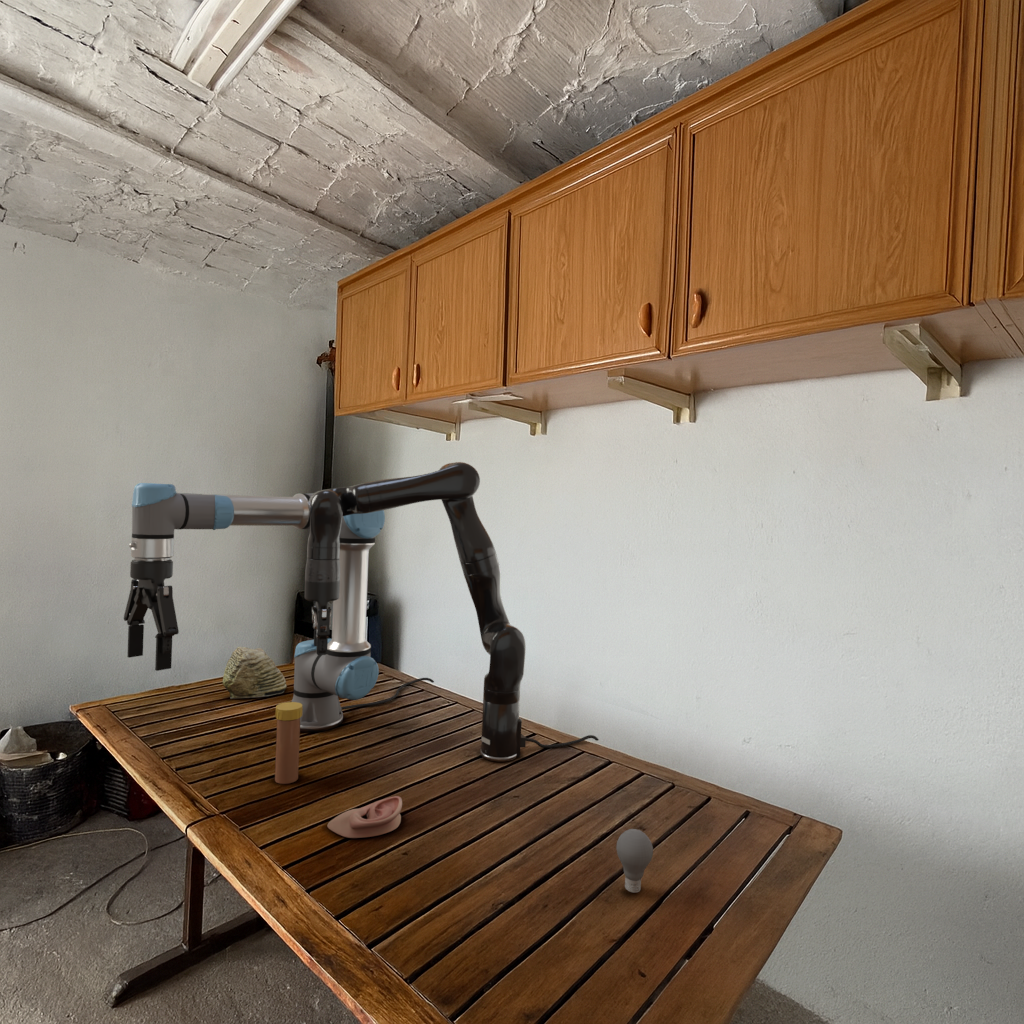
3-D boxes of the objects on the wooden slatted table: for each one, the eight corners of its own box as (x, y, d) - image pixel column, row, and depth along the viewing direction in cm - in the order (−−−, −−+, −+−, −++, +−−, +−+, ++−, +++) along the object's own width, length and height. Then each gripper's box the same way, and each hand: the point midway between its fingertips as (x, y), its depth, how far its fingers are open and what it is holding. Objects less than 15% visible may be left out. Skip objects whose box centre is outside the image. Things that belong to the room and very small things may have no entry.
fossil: (218, 695, 195) (220, 647, 195) (278, 685, 208) (279, 640, 207) (228, 703, 189) (230, 653, 188) (289, 692, 201) (290, 645, 201)
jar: (296, 783, 139) (299, 711, 139) (272, 784, 138) (275, 711, 138) (299, 773, 144) (302, 704, 144) (277, 774, 143) (279, 704, 143)
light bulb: (610, 879, 108) (613, 822, 108) (644, 879, 109) (647, 822, 109) (619, 902, 102) (622, 840, 102) (655, 901, 103) (658, 840, 103)
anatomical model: (320, 812, 119) (347, 786, 130) (319, 833, 119) (347, 805, 130) (386, 822, 116) (408, 795, 127) (385, 844, 116) (408, 814, 128)
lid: (300, 720, 139) (300, 710, 139) (272, 721, 138) (273, 710, 138) (304, 711, 144) (304, 701, 144) (277, 712, 143) (278, 702, 143)
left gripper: (108, 554, 134) (104, 654, 134) (159, 565, 118) (155, 678, 119) (146, 552, 140) (143, 648, 140) (199, 563, 124) (195, 671, 124)
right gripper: (343, 582, 137) (340, 657, 137) (336, 574, 150) (334, 642, 151) (307, 583, 134) (304, 659, 135) (303, 574, 148) (301, 643, 148)
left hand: (148, 662), depth 129 cm, fingers open, 13 cm apart
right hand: (320, 650), depth 143 cm, fingers open, 8 cm apart
